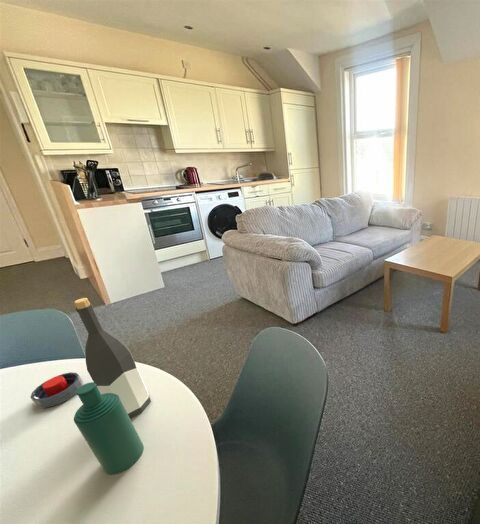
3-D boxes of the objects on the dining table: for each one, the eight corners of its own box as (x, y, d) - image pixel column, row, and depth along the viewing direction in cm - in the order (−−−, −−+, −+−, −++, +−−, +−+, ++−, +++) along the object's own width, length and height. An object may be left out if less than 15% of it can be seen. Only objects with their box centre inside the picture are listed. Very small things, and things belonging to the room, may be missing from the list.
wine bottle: (139, 389, 74) (93, 287, 63) (159, 399, 71) (114, 294, 59) (104, 414, 68) (45, 306, 56) (124, 426, 64) (65, 314, 53)
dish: (26, 413, 69) (20, 404, 68) (51, 385, 77) (46, 376, 76) (70, 403, 71) (65, 394, 70) (90, 377, 79) (86, 369, 78)
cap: (73, 388, 75) (67, 377, 73) (54, 400, 71) (47, 389, 70) (64, 385, 76) (58, 374, 75) (45, 396, 73) (38, 385, 71)
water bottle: (97, 479, 54) (51, 408, 47) (113, 446, 60) (75, 378, 53) (136, 468, 56) (97, 397, 48) (148, 437, 62) (116, 370, 54)
